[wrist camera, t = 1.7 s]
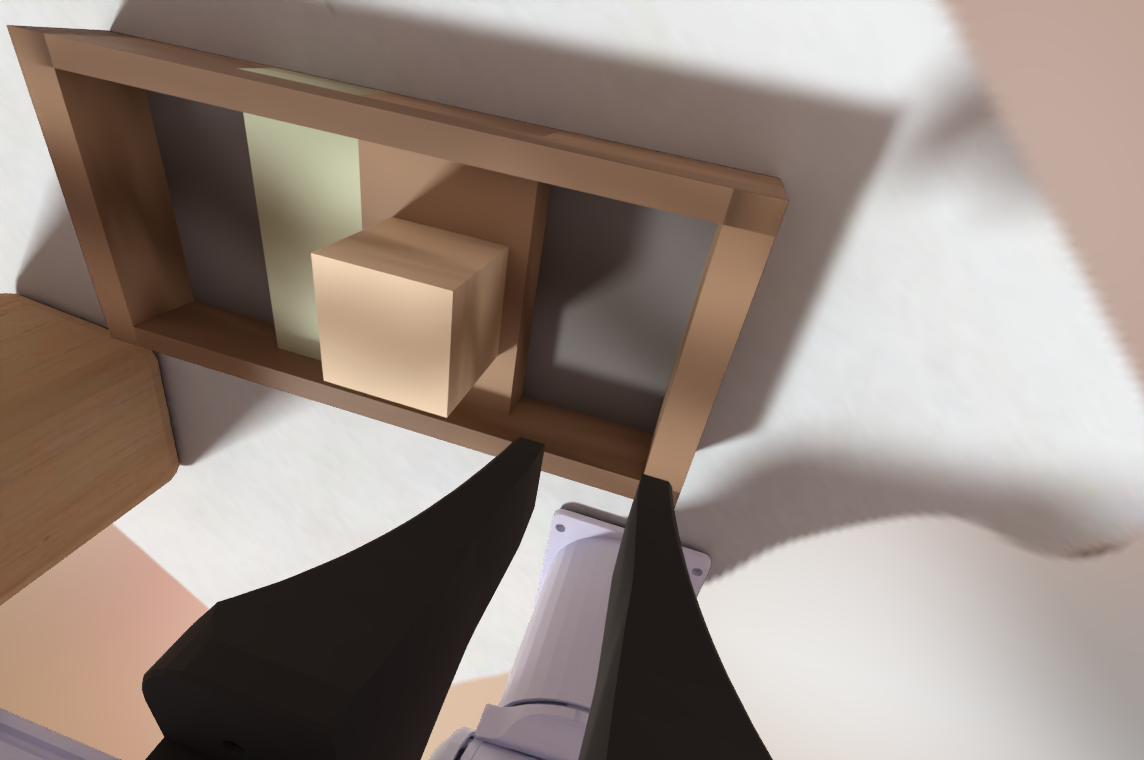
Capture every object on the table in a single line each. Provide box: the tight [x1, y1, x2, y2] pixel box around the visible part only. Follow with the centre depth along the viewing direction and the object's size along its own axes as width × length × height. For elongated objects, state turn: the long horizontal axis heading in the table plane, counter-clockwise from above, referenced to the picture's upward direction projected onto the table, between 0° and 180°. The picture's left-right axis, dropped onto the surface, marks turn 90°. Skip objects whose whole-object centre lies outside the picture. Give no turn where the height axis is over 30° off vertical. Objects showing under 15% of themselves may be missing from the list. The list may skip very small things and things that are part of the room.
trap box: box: [7, 25, 789, 508], centre depth 21 cm, size 12×26×4 cm, turn 80°
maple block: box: [311, 217, 509, 418], centre depth 19 cm, size 4×4×4 cm
